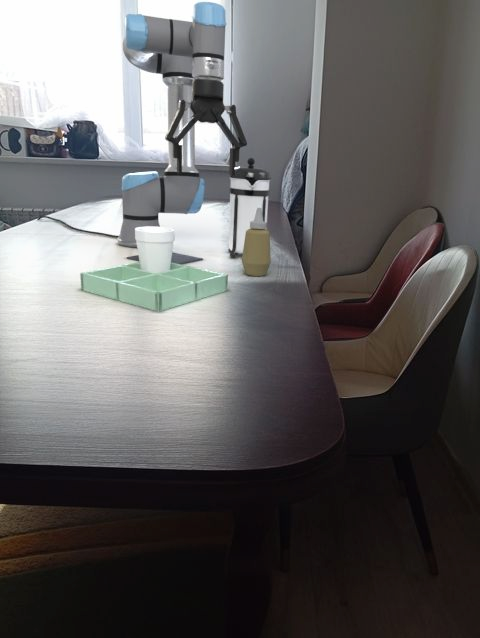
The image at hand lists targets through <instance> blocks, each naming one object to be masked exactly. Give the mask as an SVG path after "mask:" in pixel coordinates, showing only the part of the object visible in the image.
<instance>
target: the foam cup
mask: <svg viewBox="0 0 480 638" xmlns="http://www.w3.org/2000/svg"><path fill="white" fill-rule="evenodd" d="M175 231H176V230H175V229H174V228H172V227H166V226H160V227H154V226H147V227H138V228H135V239H136V242H137V247H136V248H137V255H139V261H138V262H140V267H141V270H145V271H149V272H153V273H160V272H164V271H169V270H170V265H171V257H172V252H173V248H174V241H175V238H176V236H175V233H176V232H175Z"/></svg>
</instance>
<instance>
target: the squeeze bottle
mask: <svg viewBox="0 0 480 638" xmlns="http://www.w3.org/2000/svg"><path fill="white" fill-rule="evenodd" d="M267 227H268V221H267V222H264V221H263V215H262V208H257V210H256V214H255V218H254V221H250V228H251V229H248V230H247V231H246V235H245V242H244V248H243V254H241V263H242V267H243V271H244V274H245V275H247V276H251V277H263V276H266V275H267V272H268V269H269V267H270V264H271V262H272V260H271V258H272V257H271V233H270V231H269V230H268V228H267Z"/></svg>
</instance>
